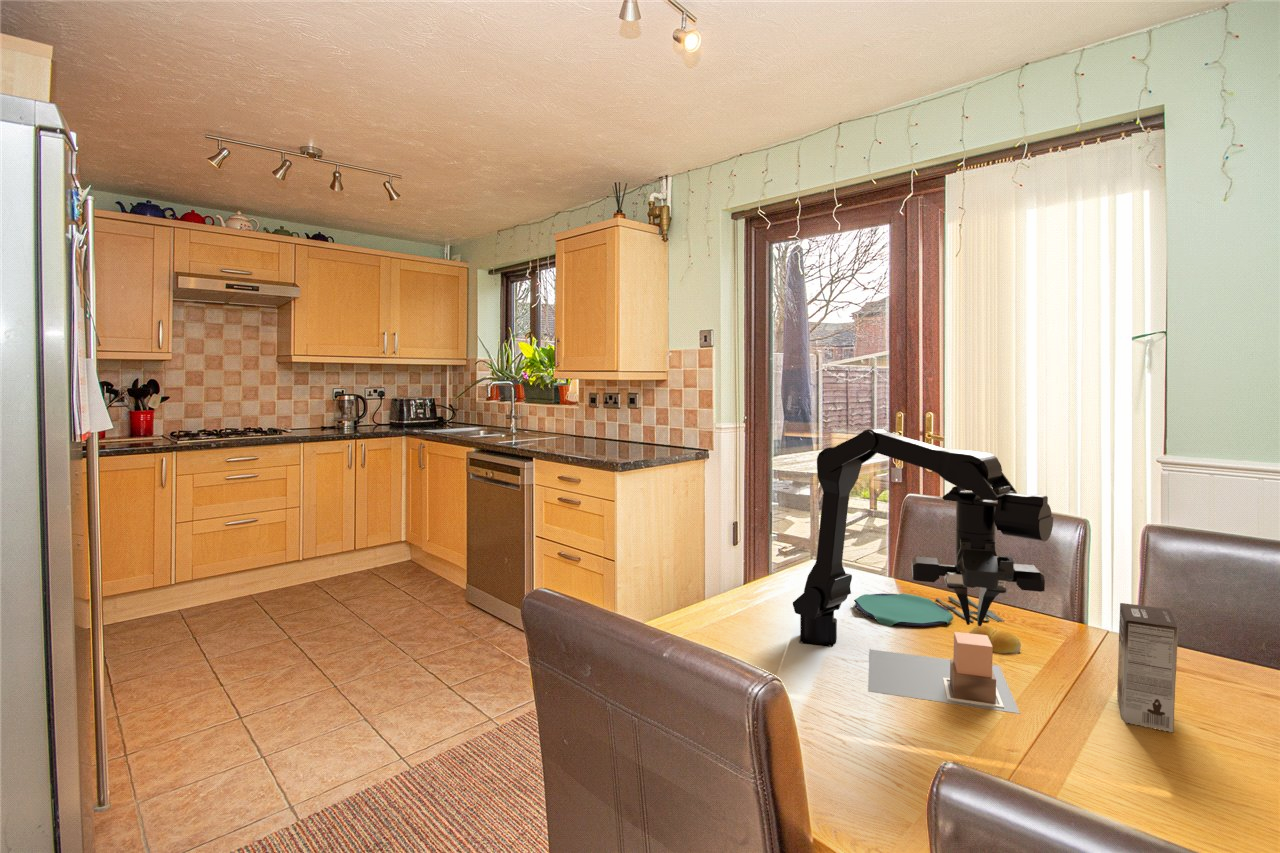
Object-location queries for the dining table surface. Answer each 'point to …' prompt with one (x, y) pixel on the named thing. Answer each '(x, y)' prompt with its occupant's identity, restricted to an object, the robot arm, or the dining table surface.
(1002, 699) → the slate board
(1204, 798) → the dining table surface
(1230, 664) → the dining table surface
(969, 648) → the terracotta block
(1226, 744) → the dining table surface
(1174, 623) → the coffee box
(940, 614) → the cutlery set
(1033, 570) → the robot arm
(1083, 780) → the dining table surface
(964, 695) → the walnut block
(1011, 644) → the bread roll
